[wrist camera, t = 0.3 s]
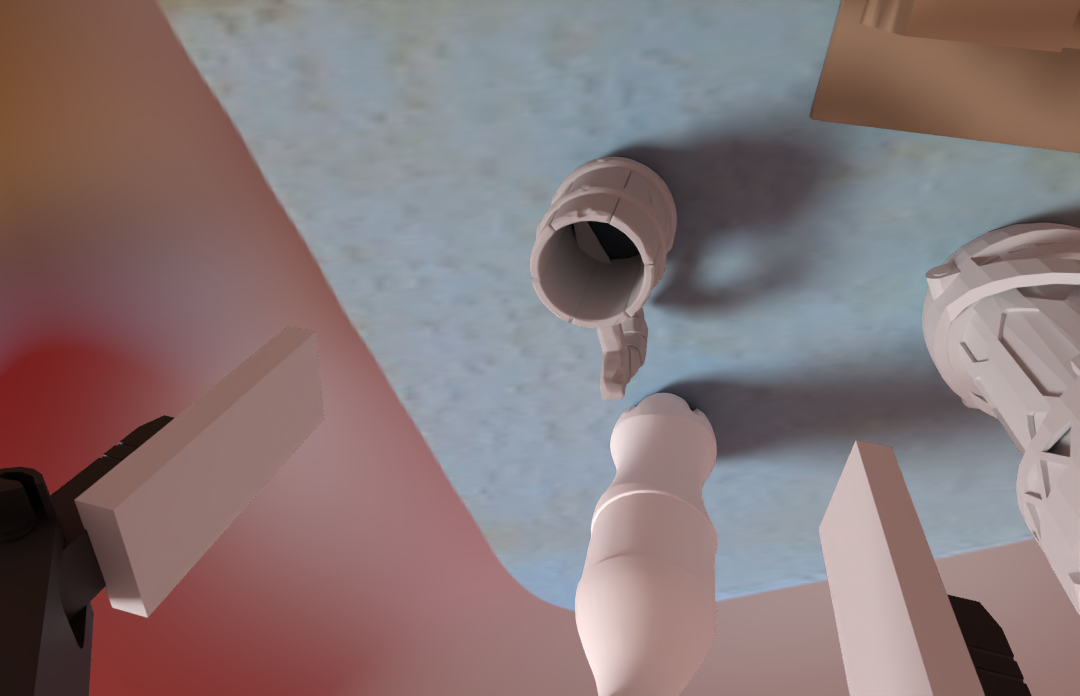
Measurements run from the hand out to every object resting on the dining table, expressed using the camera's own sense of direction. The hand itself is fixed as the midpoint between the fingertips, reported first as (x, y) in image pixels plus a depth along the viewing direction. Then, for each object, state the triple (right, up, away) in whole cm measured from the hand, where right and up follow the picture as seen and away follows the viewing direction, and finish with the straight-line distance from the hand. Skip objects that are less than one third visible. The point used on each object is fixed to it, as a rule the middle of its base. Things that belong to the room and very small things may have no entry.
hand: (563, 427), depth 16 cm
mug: (+5, +9, +26) cm, 28 cm away
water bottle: (+9, -3, +32) cm, 33 cm away
